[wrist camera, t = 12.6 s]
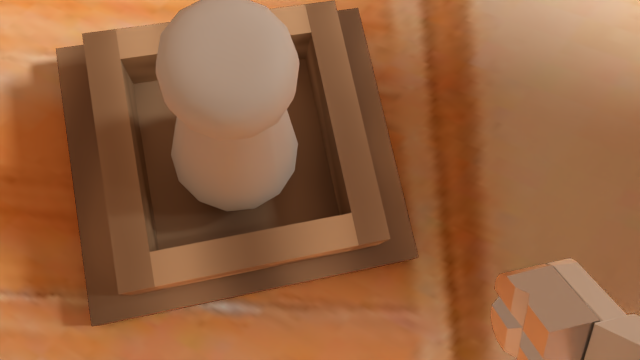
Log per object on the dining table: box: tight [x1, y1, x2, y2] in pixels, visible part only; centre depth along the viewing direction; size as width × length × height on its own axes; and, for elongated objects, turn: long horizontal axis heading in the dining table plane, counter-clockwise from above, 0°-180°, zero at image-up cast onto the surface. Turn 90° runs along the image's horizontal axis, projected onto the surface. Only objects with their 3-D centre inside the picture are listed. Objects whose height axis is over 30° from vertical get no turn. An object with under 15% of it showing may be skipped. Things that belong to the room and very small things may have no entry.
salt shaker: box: [156, 0, 299, 211], centre depth 22 cm, size 6×6×13 cm
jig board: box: [56, 1, 418, 326], centre depth 28 cm, size 16×14×4 cm
